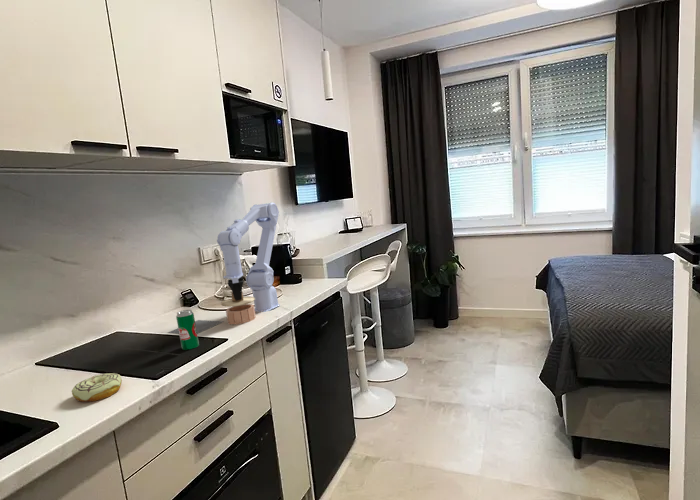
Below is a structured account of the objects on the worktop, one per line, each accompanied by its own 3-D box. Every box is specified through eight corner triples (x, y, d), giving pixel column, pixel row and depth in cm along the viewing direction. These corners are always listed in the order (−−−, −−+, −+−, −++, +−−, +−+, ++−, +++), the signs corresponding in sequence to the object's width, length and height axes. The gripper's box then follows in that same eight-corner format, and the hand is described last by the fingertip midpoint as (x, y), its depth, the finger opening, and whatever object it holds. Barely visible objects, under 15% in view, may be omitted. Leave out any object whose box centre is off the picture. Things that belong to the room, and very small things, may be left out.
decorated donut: (83, 409, 93) (79, 394, 92) (68, 398, 100) (65, 384, 99) (130, 389, 101) (127, 375, 100) (113, 380, 107) (110, 367, 107)
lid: (238, 297, 157) (236, 288, 156) (261, 298, 151) (260, 289, 150) (214, 305, 146) (212, 296, 146) (238, 307, 140) (236, 297, 140)
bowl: (241, 316, 156) (239, 303, 156) (261, 317, 152) (259, 304, 151) (222, 324, 148) (220, 311, 147) (242, 326, 143) (240, 312, 142)
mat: (198, 321, 157) (198, 319, 157) (224, 322, 150) (224, 321, 150) (167, 333, 145) (167, 332, 144) (194, 336, 138) (194, 334, 138)
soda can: (178, 350, 125) (171, 313, 123) (191, 344, 129) (185, 308, 127) (189, 352, 122) (183, 314, 121) (202, 345, 127) (196, 309, 125)
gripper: (221, 262, 153) (227, 296, 154) (220, 267, 139) (227, 305, 140) (240, 259, 154) (246, 293, 156) (241, 264, 141) (247, 301, 142)
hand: (238, 298), depth 148 cm, fingers closed on lid, 4 cm apart
